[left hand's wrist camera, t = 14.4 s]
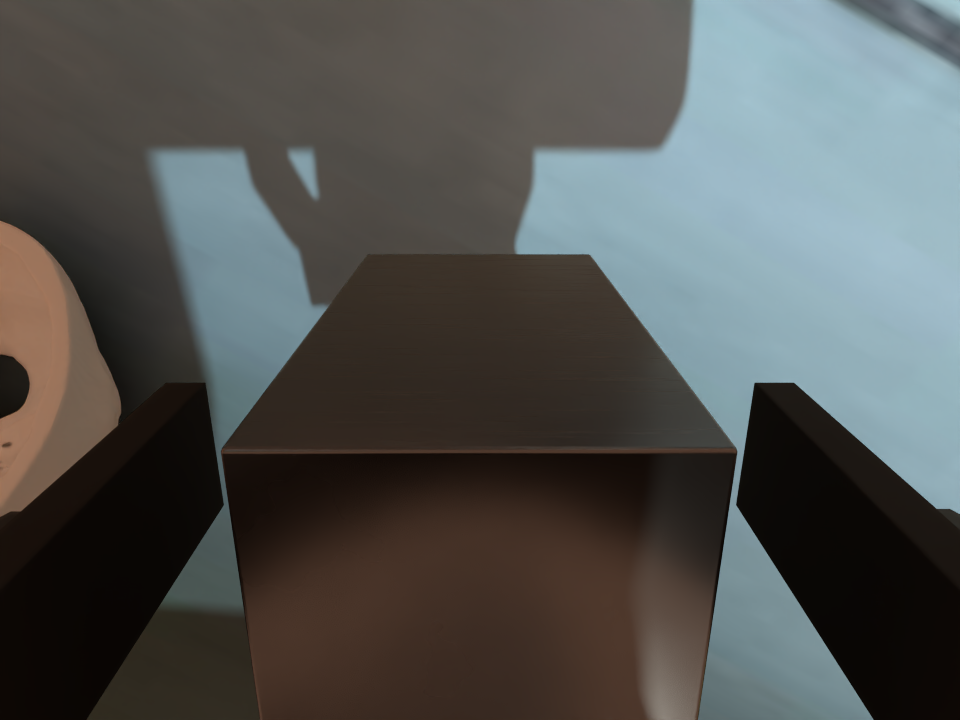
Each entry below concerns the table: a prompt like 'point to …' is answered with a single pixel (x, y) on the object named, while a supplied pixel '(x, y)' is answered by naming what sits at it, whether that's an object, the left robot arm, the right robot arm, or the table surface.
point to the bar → (479, 503)
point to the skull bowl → (47, 372)
